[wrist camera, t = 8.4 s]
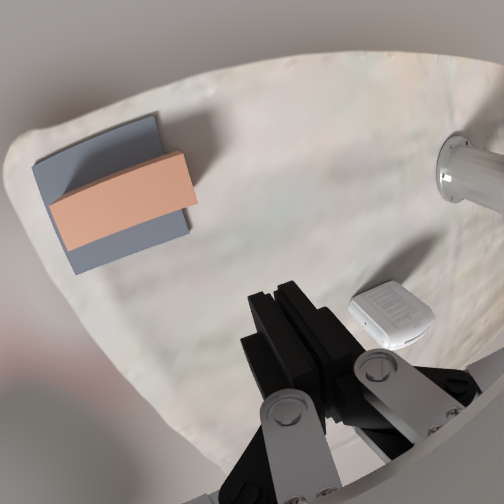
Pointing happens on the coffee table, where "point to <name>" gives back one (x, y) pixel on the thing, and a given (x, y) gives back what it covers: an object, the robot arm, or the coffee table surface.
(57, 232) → the mat
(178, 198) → the terracotta block
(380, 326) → the photo printer
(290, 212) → the coffee table surface
